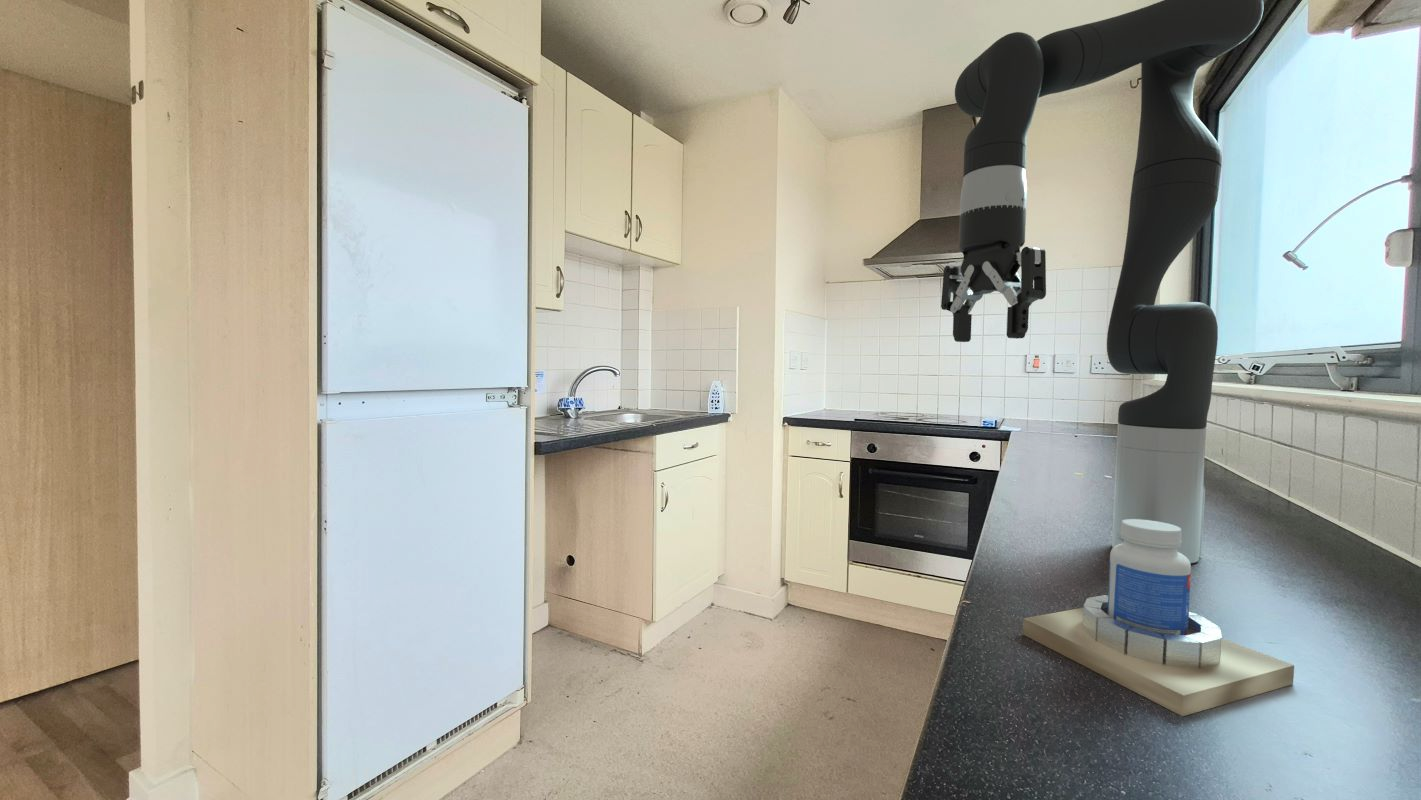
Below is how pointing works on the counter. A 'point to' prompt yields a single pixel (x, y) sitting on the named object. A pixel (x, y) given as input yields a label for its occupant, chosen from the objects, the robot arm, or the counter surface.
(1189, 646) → the steel collar
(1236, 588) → the counter surface
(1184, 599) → the pill bottle
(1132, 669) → the carrier plate
